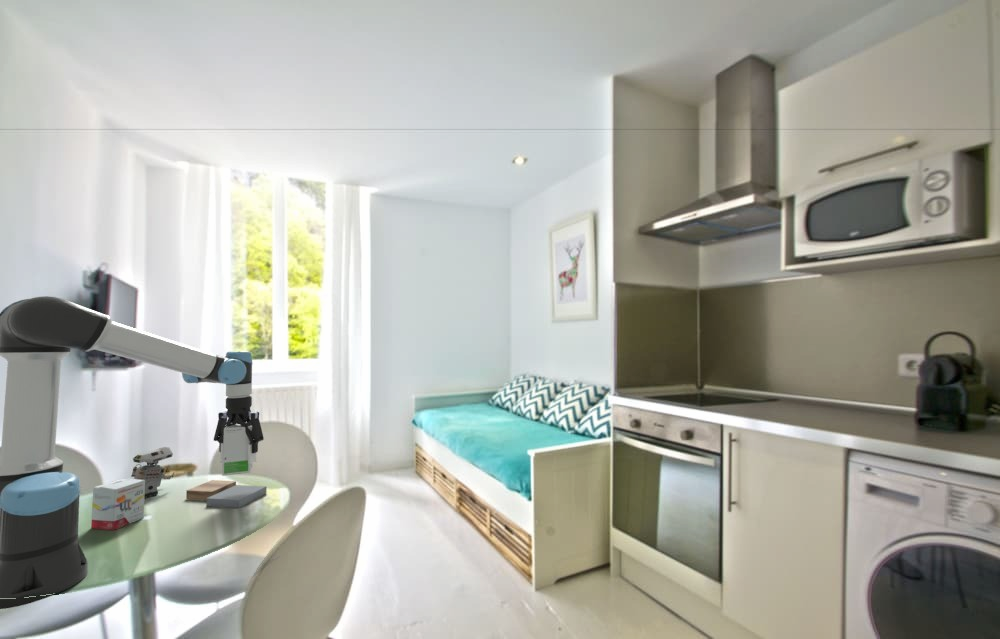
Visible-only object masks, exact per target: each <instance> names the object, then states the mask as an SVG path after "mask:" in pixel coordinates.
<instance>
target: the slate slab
mask: <svg viewBox="0 0 1000 639" xmlns="http://www.w3.org/2000/svg"><path fill="white" fill-rule="evenodd" d="M265 495H267V486H265V485H264V486H262V485H247V484H245V485H244V484H243V485H242V484H236V485H235V486H233V487H231V488H228V489H226V490H224V491H222V492H220V493H217V494H215V495H213V496H211V497H208V498H207V501H206V507H218V508H231V509H233V508H235V509H240V508H242V507H243V506H245V505H247V504H249V503H252V502H253V501H255V500H258V499H259V498H261V497H263V496H265Z"/></svg>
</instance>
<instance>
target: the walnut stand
mask: <svg viewBox="0 0 1000 639" xmlns="http://www.w3.org/2000/svg"><path fill="white" fill-rule="evenodd" d="M235 485H237V481H235V480H218V479H217V480H215V479H211V480H209V481H206V482H204V483H202V484H199V485H196V486H194V487H191V488H189V489H187V490H186V493H185V494H186V498H185V499H186V500H187V501H188V500H193V501H206V502H207V498H208V497H211V496H213V495H215V494H217V493H220V492H222V491H224V490H226V489H228V488H231V487H233V486H235Z"/></svg>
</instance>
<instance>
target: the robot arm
mask: <svg viewBox="0 0 1000 639" xmlns="http://www.w3.org/2000/svg"><path fill="white" fill-rule="evenodd" d="M72 349H74V350H79V351H83V352H87V353H88V352H90V351H93V350H96V351H99V352H103V353H107V354H110V355H115V356H118V357H122V358H126V359H129V360H134V361H138V362H140V363H144V364H149V365H152V366H155V367H159V368H163V369H166V370H170V371H174V372H179V373H181V377H182V379H183V381H184V382H185V383H186V384H199V383H209V384H210V383H214V384H223V385H224V384H225V397H226V398H225V409H226V410H227V411H222V412H218V416H217V417H218V421H217V425H216V428H215V433H214V436H213V441H214V442H218V443H219V446H218V447H219V448H218V450H219V453H220V463H221V464H222V462H223V439H224V428H225V427H226V426H232V425H237V424H240V425H241V426H242V427H245V432H246V435H247V437H248V439H249V441H250V443H249V444H248V464H251V463H252V464H254V463H256V462H257V453H258V451H259V442H262V441H264V440H265V438H264V433H263V430H262V426H261V421H260V411H254V412H253V411H252V410H251V407H252V406H253V397H252V396H251V395H252V394H253V392H252V390H253V388H252V386H253V383H252V381H253V355H252V352H251V351H248V350H237V351H236V350H235V351H234V350H232V351H228V352H226V353H225V357H224V356H221V355H219V354H215V353H213V352H209V351H206V350H203V349H199V348H197V347H193V346H190V345H187V344H184V343H181V342H178V341H176V340H175V341H174V340H171V339H168V338H166V337H163V336H159V335H156V334H153V333H150V332H146V331H143V330H140V329H137V328H133V327H131V326H128V325H125V324H122V323H118V322H116V321H113V320H112V319H111V317H110V316H109V315H108V314H104V313H102V312H99V311H96V310H93V309H91V308H88V307H87V306H86V307H85V306H83V305H80V304H77V303H75V302H74V301H73V302H72V301H70V300H67V299H65V298H61V297H56V296H48V295H47V296H46V295H45V296H35V297H31V298H27V299H20V300H18V301H15V302H12V303H11V304H9V305H8V306H5V308H3V309H2V310H1V312H0V357H2V358H4V359H5V360H6V361H7V365H6V366H7V367H6V369H7V370H6V380H5V381H6V382H5V391H4V392H5V394H4V406H3V407H4V408H3V409H4V410H3V419H2V420H3V421H2V433H1V447H0V598H16V599H0V610H4V609H11V608H16V607H20V606H25V605H28V604H31V603H35V602H38V601H41V600H44V599H47V598H50V597H52V596H53V595H46V594H53V593H57V594H59V593H61V591H62V592H64V591H66V590H68V589H70V588H72V587H73V586H75V585H76V584H78V583H79V582H81V581H82V580H84V578H85V577H86V576H87V575H88V571H89V570H88V569H89V568H88V567H89V562H88V560H87V558H86V556H85V553H84V551H83V549H82V548H81V545H80V543H79V516H80V513H79V512H80V493H81V488H82V487H81V484H80V479H79V477H78V476H77V475H76V474H74V473H73V472H72V473H71V472H68V471H67V472H66V471H63V468H64V461H63V460H62V459H60V458H59V457H57V456H56V455H55V454H56V439H57V428H58V426H57V425H58V411H59V398H60V396H59V394H60V380H61V367H62V360H63V359H64V358H66V357H67V356H68V355H69V354H71V350H72ZM248 426H252V431H251V430H250V429H249V428H248ZM40 595H46V596H40ZM29 596H36V597H29ZM24 597H29V598H24Z"/></svg>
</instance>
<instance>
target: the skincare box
mask: <svg viewBox="0 0 1000 639" xmlns="http://www.w3.org/2000/svg"><path fill="white" fill-rule="evenodd" d="M248 428H249V429H250V430H251V431H252V426H248ZM249 443H250V441H249V439H248V437H247V435H246V432H245V427H242V426H241V425H240V424H235V425H232V426H226V427H225V428H224V439H223V462H222V463H221V464H222V465H221V467H222V468H221V476H223V477H225V476H233V475H241V474H242V475H243V474H250V473H251V471H252V468H253V463H251V464H248V444H249Z"/></svg>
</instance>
